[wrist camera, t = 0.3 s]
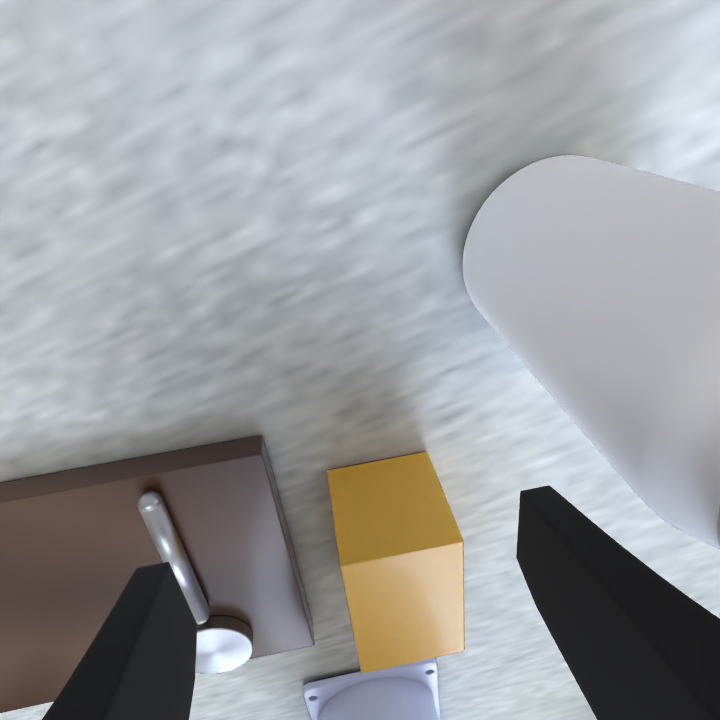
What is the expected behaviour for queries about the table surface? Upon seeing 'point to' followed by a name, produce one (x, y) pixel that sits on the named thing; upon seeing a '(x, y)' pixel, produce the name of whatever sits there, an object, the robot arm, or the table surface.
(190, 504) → the board
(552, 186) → the can
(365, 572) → the block
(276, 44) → the table surface
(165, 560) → the silver rod with disc
